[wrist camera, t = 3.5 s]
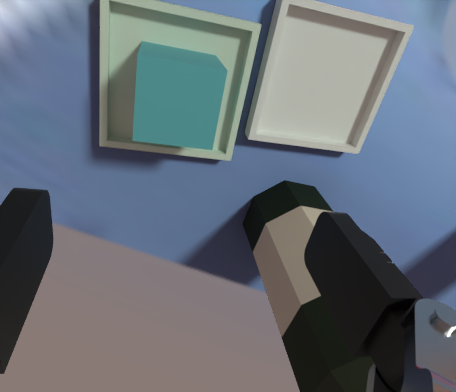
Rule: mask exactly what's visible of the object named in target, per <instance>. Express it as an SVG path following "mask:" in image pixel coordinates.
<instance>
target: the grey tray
mask: <svg viewBox="0 0 456 392" xmlns="http://www.w3.org/2000/svg"><path fill="white" fill-rule="evenodd" d="M413 29H414V26H413V25H409V24H405V23H401V22H397V21H393V20H389V19H385V18H381V17H377V16H373V15H369V14H365V13H361V12H357V11H353V10H349V9H346V8H342V7H338V6H334V5H330V4H326V3H322V2H318V1H314V0H276V3H275V7H274V11H273V15H272V19H271V24H270V28H269V32H268V36H267V40H266V45H265V49H264V53H263V57H262V61H261V66H260V70H259V74H258V78H257V82H256V86H255V91H254V95H253V99H252V103H251V107H250V112H249V116H248V120H247V124H246V128H245V135H246V137H247V138H248V140H256V141H264V142H271V143H279V144H287V145H294V146H302V147H310V148H317V149H325V150H332V151H340V152H348V153H355V154H359V152H360V149H361V147H362V145H363V143H364V140H365V138H366V136H367V133H368V131H369V129H370V127H371V124H372V122H373V120H374V117H375V115H376V113H377V111H378V108H379V106H380V104H381V102H382V99H383V97H384V95H385V92H386V90H387V88H388V86H389V83H390V81H391V79H392V76H393V74H394V72H395V70H396V67H397V65H398V63H399V61H400V58H401V56H402V54H403V51H404V49H405V47H406V45H407V42H408V40H409V38H410V35H411V33H412V31H413Z"/></svg>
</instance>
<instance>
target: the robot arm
mask: <svg viewBox="0 0 456 392" xmlns="http://www.w3.org/2000/svg"><path fill="white" fill-rule="evenodd" d="M52 248H53V228H52V217H51V205H50V196H49V192H48V191H47V190H40V189H26V188H13V189H12V190H11V192H10V193H9V194H8V196H7V197H6V198H5V200H4V201H3V203H2V204H1V205H0V374H3V373H4V372H5V370H6V367H7V365H8V362H9V360H10V357H11V355H12V352H13V350H14V347H15V345H16V342H17V340H18V337H19V335H20V332H21V330H22V327H23V325H24V322H25V320H26V317H27V315H28V312H29V310H30V307H31V305H32V302H33V300H34V297H35V295H36V292H37V290H38V287H39V285H40V283H41V280H42V277H43V275H44V272H45V270H46V268H47V265H48V263H49V260H50V257H51V253H52ZM304 261H305V265H306V268H307V270H308V272H309V273H310V275H311V277H312V279H313V281H314V283H315V285H316V287H317V289H318V291H319V293H320V295H321V297H322V299H323V300H324V302H325V304H326V306H327V308H328V310H329V312H330V314H331V316H332V318H333V320H334V322H335V324H336V326H337V327H338V329H339V331H340V333H341V335H342V337H343V339H344V341H345V343H346V345H347V347H348V349H349V351H350V353H351V355H352V356H353V357H371V358H372V360H373V364H372V365H371V367H370V369H369V372H368V380H367V388H366V392H456V310H454V309H453V308H451V307H449V306H448V305H446V304H444V303H441V302H439V301H436V300H433V299H423V297H422V296H421V295H420V294H419V293H418V291H417V290H416V289H415V288H414V287H413V285H412V284H411V283H410V282H409V281H408V280H407V278H406V277H405V276H404V275H403V274H402V272H401V271H400V270H399V269H398V268H397V266H396V265H395V264H392V260H391V259H390V258H389V257H388V256H387V255H386V254H384V251H383V250H382V249H381V247H380V246H379V245H378V244H377V243H376V241H375V240H374V239H372V238H371V237H370V236H368V235H367V234H366V233H364V232H363V231H362V230H361V229H360V228H359V227H358V226H357V225H356V223H355V222H354V221H353V220H352V218H351V217H350V216H349V215H348V214H346V213H338V212H322V213H321V214H320V215H319V216H318V218H317V221H316V223H315V226H314V228H313V230H312V233H311V235H310V238H309V240H308V243H307V245H306V248H305V252H304Z"/></svg>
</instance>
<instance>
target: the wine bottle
mask: <svg viewBox="0 0 456 392" xmlns="http://www.w3.org/2000/svg"><path fill="white" fill-rule="evenodd" d="M322 212H333V210H332V209H331V208H330V206H329V205H328V204H327V202H326V201H325V200H324V198H323V197H322V196H321V195H320V193H319V192H318V191H317V189H316V188H315V187H314V186H309V185H304V184H299V183H295V182H290V181H283V182H281V183H279V184H277V185H275V186H273V187H271V188H269V189H267V190H266V191H264V192H262V193H260V194H258V195H256V196H254V198H253V200H252V203H251V205H250V207H249V210H248V212H247V215H246V217H245V220H244V222H243V225H244V228H245V231H246V234H247V237H248V240H249V243H250V246H251V249H252V252H253V255H254V258H255V261H256V264H257V267H258V269H259V272H260V275H261V278H262V281H263V284H264V287H265V290H266V293H267V296H268V299H269V302H270V305H271V308H272V310H273V314H274V316H275V319H276V322H277V325H278V328H279V331H280V334H281V337H282V340H283V343H284V346H285V349H286V352H287V355H288V357H289V361H290V363H291V366H292V369H293V372H294V375H295V378H296V381H297V384H298V387H299V390H300V392H366V388H367V380H368V372H369V369H370V367H371V365H372V364H373V360H372V358H371V357H353V356H352V355H351V353H350V351H349V349H348V347H347V345H346V343H345V341H344V339H343V337H342V335H341V333H340V331H339V329H338V327H337V326H336V324H335V322H334V320H333V318H332V316H331V314H330V312H329V310H328V308H327V306H326V304H325V302H324V300H323V299H322V297H321V295H320V293H319V291H318V289H317V287H316V285H315V283H314V281H313V279H312V277H311V275H310V273H309V272H308V270H307V268H306V265H305V261H304V252H305V248H306V245H307V243H308V240H309V238H310V235H311V233H312V230H313V228H314V226H315V223H316V221H317V218H318V216H319V215H320V214H321V213H322Z"/></svg>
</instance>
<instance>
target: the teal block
mask: <svg viewBox="0 0 456 392" xmlns="http://www.w3.org/2000/svg"><path fill="white" fill-rule="evenodd" d="M227 72H228V70H227V69H226V68H225V66H224V65H223V64H222V63H221V61H220V60H219V59H218V57H217V56H216V55H212V54H207V53H202V52H197V51H192V50H186V49H181V48H176V47H171V46H166V45H160V44H155V43H150V42H145V41H142V43H141V46H140V48H139V51H138V54H137V71H136V88H135V105H134V123H133V140H132V141H139V142H147V143H156V144H164V145H172V146H181V147H189V148H198V149H206V150H213V144H214V139H215V134H216V129H217V124H218V118H219V113H220V108H221V103H222V98H223V92H224V87H225V82H226V77H227Z"/></svg>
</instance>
